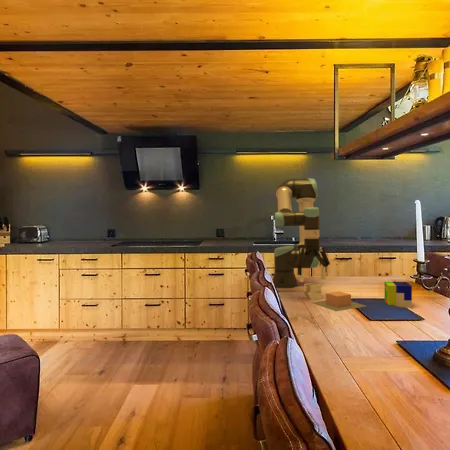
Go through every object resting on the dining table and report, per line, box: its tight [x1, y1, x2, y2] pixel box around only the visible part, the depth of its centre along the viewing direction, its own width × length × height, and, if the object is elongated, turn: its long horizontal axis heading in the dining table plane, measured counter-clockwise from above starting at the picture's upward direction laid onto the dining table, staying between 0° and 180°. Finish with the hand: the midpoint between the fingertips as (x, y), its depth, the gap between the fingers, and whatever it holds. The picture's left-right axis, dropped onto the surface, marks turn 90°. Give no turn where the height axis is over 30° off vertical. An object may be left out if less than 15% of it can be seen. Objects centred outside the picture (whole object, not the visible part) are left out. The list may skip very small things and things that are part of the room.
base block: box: [325, 290, 352, 307], centre depth 191 cm, size 8×8×5 cm
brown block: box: [303, 282, 322, 301], centre depth 205 cm, size 6×6×8 cm
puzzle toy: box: [384, 281, 413, 309], centre depth 192 cm, size 10×10×10 cm
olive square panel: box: [312, 300, 366, 312], centre depth 191 cm, size 18×18×1 cm
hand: (312, 280), depth 205 cm, fingers open, 13 cm apart
